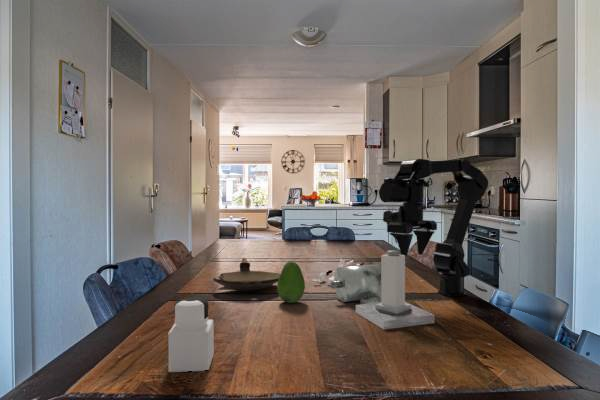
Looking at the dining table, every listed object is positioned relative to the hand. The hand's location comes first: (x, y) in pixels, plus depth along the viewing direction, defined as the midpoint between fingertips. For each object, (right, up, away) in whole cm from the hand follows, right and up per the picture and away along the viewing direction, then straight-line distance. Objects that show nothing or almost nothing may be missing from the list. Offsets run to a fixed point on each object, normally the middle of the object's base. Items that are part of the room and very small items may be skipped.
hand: (412, 256), depth 116 cm
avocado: (-35, -13, -1) cm, 38 cm away
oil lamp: (-49, -13, +17) cm, 54 cm away
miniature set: (-15, -13, +32) cm, 38 cm away
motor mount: (-13, -13, -8) cm, 20 cm away
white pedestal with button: (-9, -11, -16) cm, 21 cm away
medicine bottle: (-53, -14, -42) cm, 69 cm away
